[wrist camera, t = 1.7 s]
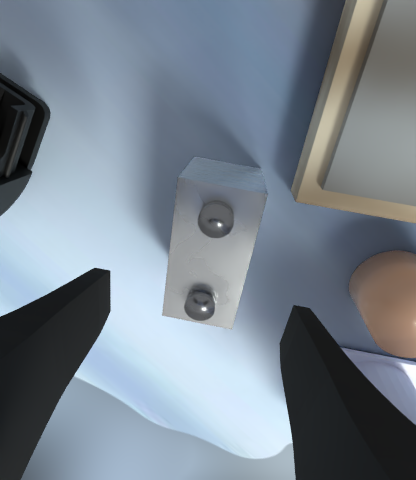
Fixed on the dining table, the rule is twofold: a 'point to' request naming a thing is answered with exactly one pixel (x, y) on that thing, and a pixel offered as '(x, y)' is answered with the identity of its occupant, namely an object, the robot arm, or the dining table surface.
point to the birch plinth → (365, 116)
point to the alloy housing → (212, 240)
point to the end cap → (18, 138)
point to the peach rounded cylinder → (388, 300)
